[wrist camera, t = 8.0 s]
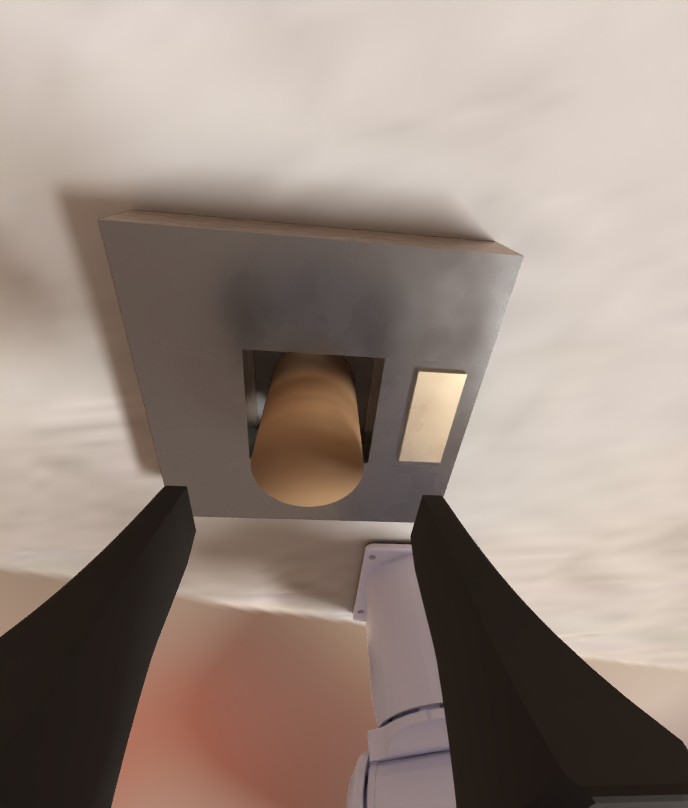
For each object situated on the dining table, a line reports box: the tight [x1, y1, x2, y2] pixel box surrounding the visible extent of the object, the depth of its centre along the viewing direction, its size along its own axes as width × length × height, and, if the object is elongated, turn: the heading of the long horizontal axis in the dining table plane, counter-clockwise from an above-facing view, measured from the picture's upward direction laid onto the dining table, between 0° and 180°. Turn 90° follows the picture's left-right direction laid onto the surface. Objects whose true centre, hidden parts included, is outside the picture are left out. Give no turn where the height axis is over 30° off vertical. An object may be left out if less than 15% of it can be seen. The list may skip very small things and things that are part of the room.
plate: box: [98, 210, 523, 523], centre depth 17 cm, size 14×14×3 cm
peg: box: [251, 352, 364, 507], centre depth 16 cm, size 4×4×6 cm
